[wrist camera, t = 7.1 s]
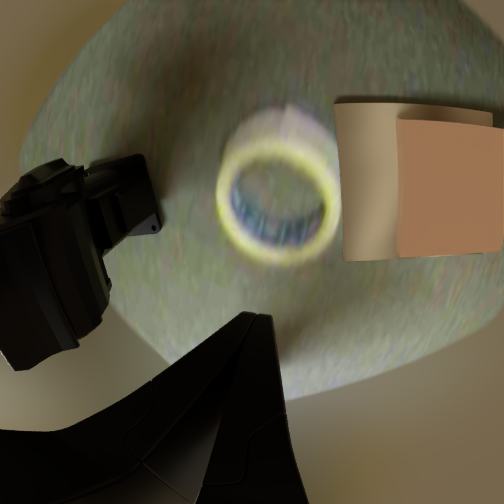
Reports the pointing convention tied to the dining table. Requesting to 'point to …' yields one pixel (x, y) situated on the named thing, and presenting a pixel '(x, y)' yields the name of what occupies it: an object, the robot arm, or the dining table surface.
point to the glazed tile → (449, 188)
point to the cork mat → (378, 171)
